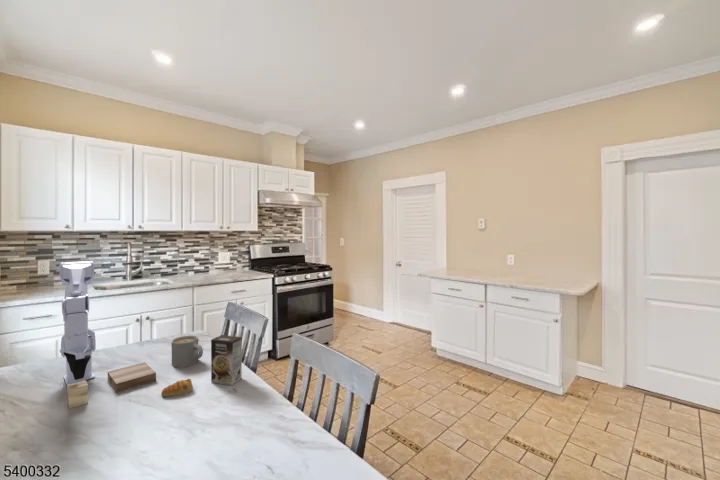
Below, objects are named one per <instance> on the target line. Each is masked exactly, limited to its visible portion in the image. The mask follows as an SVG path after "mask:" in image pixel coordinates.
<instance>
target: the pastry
mask: <svg viewBox="0 0 720 480" xmlns="http://www.w3.org/2000/svg"><path fill="white" fill-rule="evenodd" d="M193 390H194V386H193V381H192V379H191V378H189V377H188V378H187V379H181V380H177V381H175V382H174V383H172V384H170V385H168V386H166V387H164V388H163V389H162V391H161V396H162V397H165V398H170V397H178V396H181V395H186V394H189V393H192V392H193Z"/></svg>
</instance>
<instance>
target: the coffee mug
mask: <svg viewBox="0 0 720 480" xmlns="http://www.w3.org/2000/svg"><path fill="white" fill-rule="evenodd" d="M203 351H204V349H203V346H202V345H200V344H199V337H198V336H197V335H182V336H178V337H176V338H172V340H171V366H172V367H173V368H180V369H181V368H186V367H190V366H194V365H196V364H197V363H198V362H199V359H200V358H202V357H203V354H204V352H203Z"/></svg>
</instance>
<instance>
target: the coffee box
mask: <svg viewBox="0 0 720 480" xmlns="http://www.w3.org/2000/svg"><path fill="white" fill-rule="evenodd" d="M210 340H211V342H210V350H211V351H210V353H211V354H210V357H211V358H210V360H211V361H210V362H211V364H210V365H211V366H210V368H211V369H210V371H211V372H210V374H211V375H210V377H211V380H210V381H211V384H212V383H213V384H219V385H226V386H233V385H235V384H236V383H238V382H239V381H240V380H241V379H242V377H243V376H242V373H243V372H242V369H243V368H242V366H243V365H242V364H243V363H242V361H243V358H242V357H243V356H242V354H243V349H242V348H243V336H234V335H225V334H221V335H218V336H216V337H214V338H212V339H210Z"/></svg>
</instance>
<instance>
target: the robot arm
mask: <svg viewBox="0 0 720 480" xmlns="http://www.w3.org/2000/svg"><path fill="white" fill-rule="evenodd" d="M58 270H59V278H60V279H59V280H60V282H61V284H62V285H63V286H65V289H64V299H62V300H61V313H62V317H63V322H64V323H63V324H64V325H63V329H64V331H63V332H64V334H63V335H62V336H61V339H60V340H61V341H60V349H59V353H60V356H61V357H62V358H64V359H65V362H66V363H65V368H66V374H65V375H63V380H64V382H65V385H66V386H67V385H69V384H73V383H77V382H81V381H84V380H86V381H87V380H92V379H94V378H95V377H96V376H95V374H94V373H93V370H92V369H93V366H92V364H93V363H92V354H93V353H92V352H95V351H96V350H97V349H96V347H97V346H96V340H97V339H96V332H95V330H93V329H91V328H89V317H88V315H89V314H88V313H89V312H90V297H89V294H88V285H89V284H91V283H93V282H94V280H95V261H94V260H90V261H71V262H70V261H68V262H64V261H62V262H60V263H59V269H58Z"/></svg>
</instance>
